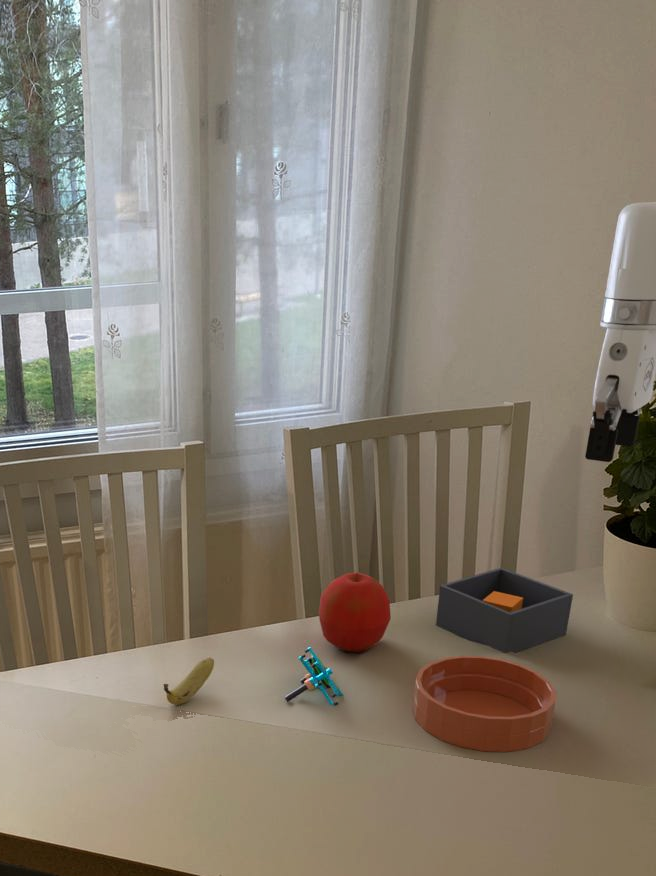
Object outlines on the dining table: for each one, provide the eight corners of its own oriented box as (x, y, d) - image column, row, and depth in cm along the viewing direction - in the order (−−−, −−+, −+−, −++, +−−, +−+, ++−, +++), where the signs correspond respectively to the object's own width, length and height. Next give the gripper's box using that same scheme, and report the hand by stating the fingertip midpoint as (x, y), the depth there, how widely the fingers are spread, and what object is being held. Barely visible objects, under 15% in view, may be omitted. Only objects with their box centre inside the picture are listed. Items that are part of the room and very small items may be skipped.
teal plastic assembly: (350, 702, 113) (315, 651, 113) (303, 732, 115) (268, 681, 114) (344, 682, 125) (313, 636, 125) (302, 709, 126) (270, 663, 126)
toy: (490, 617, 140) (493, 590, 138) (519, 625, 137) (523, 597, 135) (478, 627, 136) (482, 600, 134) (508, 635, 134) (512, 607, 132)
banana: (204, 680, 124) (204, 654, 123) (219, 685, 123) (219, 658, 121) (157, 709, 117) (156, 682, 116) (172, 715, 116) (171, 687, 114)
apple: (315, 630, 138) (318, 559, 133) (383, 631, 137) (388, 559, 132) (319, 660, 129) (322, 585, 124) (391, 662, 128) (398, 585, 123)
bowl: (475, 678, 123) (480, 645, 121) (578, 730, 110) (585, 694, 108) (385, 711, 116) (388, 676, 114) (484, 771, 103) (490, 733, 101)
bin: (495, 605, 145) (501, 567, 142) (566, 634, 135) (573, 594, 132) (435, 624, 139) (439, 585, 136) (504, 656, 129) (510, 614, 126)
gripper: (649, 322, 103) (621, 471, 111) (685, 308, 115) (658, 443, 123) (581, 319, 108) (558, 462, 115) (623, 306, 120) (600, 436, 127)
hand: (609, 452), depth 119 cm, fingers open, 9 cm apart
